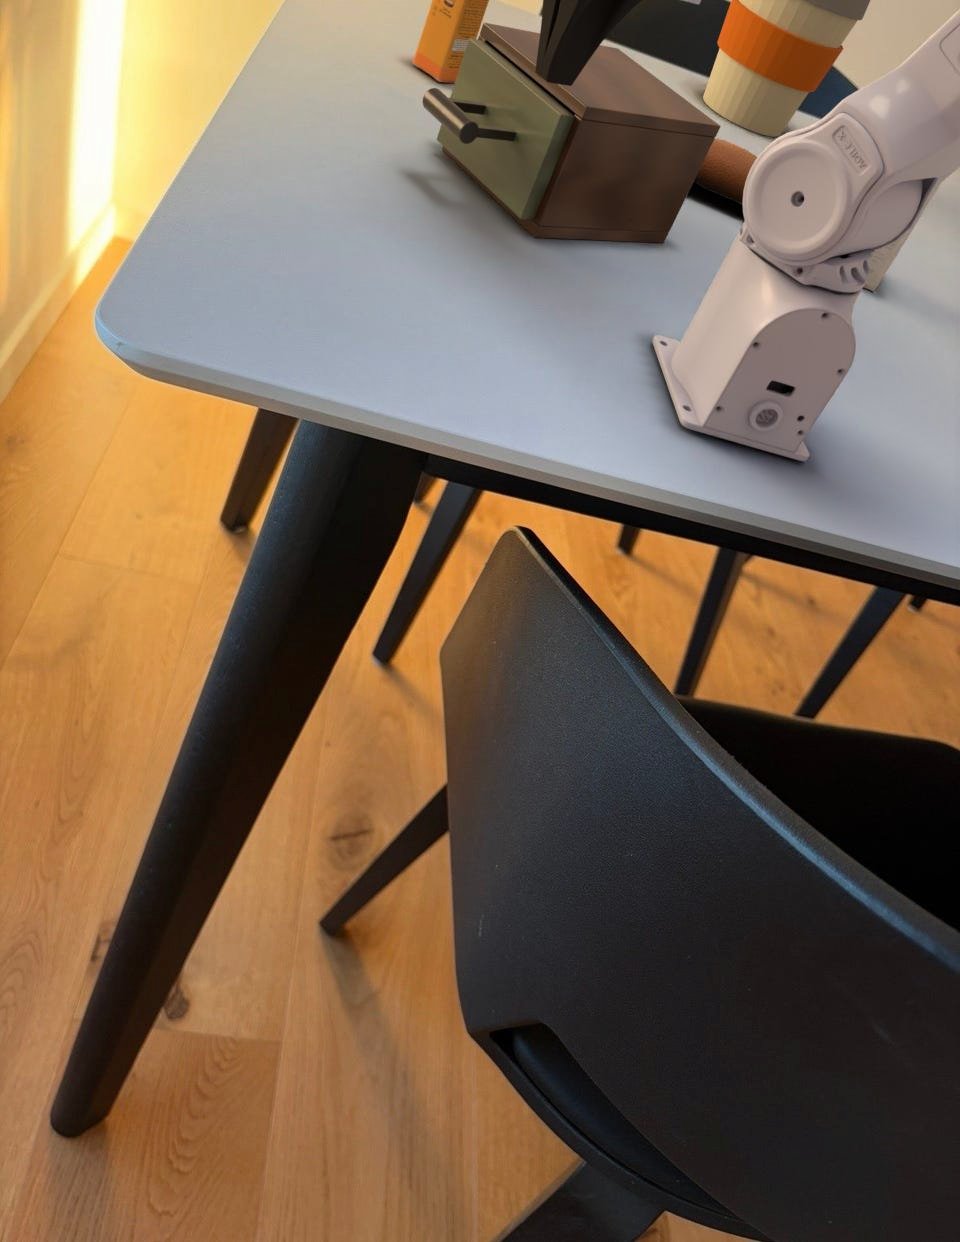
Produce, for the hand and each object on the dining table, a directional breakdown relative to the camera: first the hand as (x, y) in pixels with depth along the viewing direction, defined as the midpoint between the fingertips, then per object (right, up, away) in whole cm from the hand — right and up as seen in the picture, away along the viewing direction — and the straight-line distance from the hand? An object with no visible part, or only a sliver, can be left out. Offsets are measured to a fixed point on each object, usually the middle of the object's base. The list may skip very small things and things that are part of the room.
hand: (553, 79), depth 65 cm
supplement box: (-8, +12, +24) cm, 28 cm away
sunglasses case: (+11, +5, +27) cm, 29 cm away
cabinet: (+1, -2, +13) cm, 13 cm away
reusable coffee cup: (+23, +20, +49) cm, 58 cm away
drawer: (-2, -2, +10) cm, 11 cm away
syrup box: (+25, -3, +25) cm, 35 cm away
